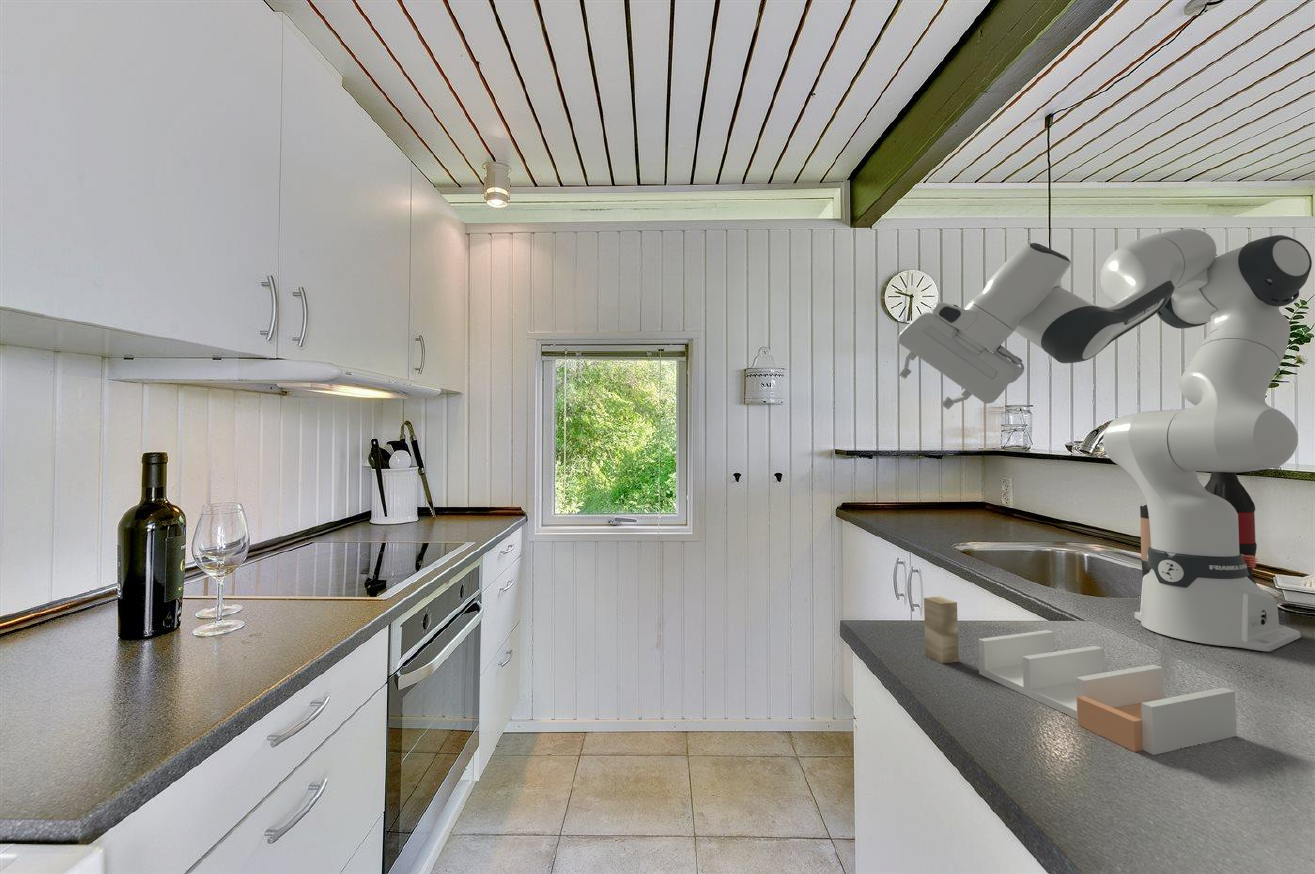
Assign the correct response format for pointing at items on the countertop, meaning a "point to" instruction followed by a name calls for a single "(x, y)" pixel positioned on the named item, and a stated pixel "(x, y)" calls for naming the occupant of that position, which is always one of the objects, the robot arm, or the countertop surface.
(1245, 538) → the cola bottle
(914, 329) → the robot arm
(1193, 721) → the rack
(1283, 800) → the countertop surface
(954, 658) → the block
